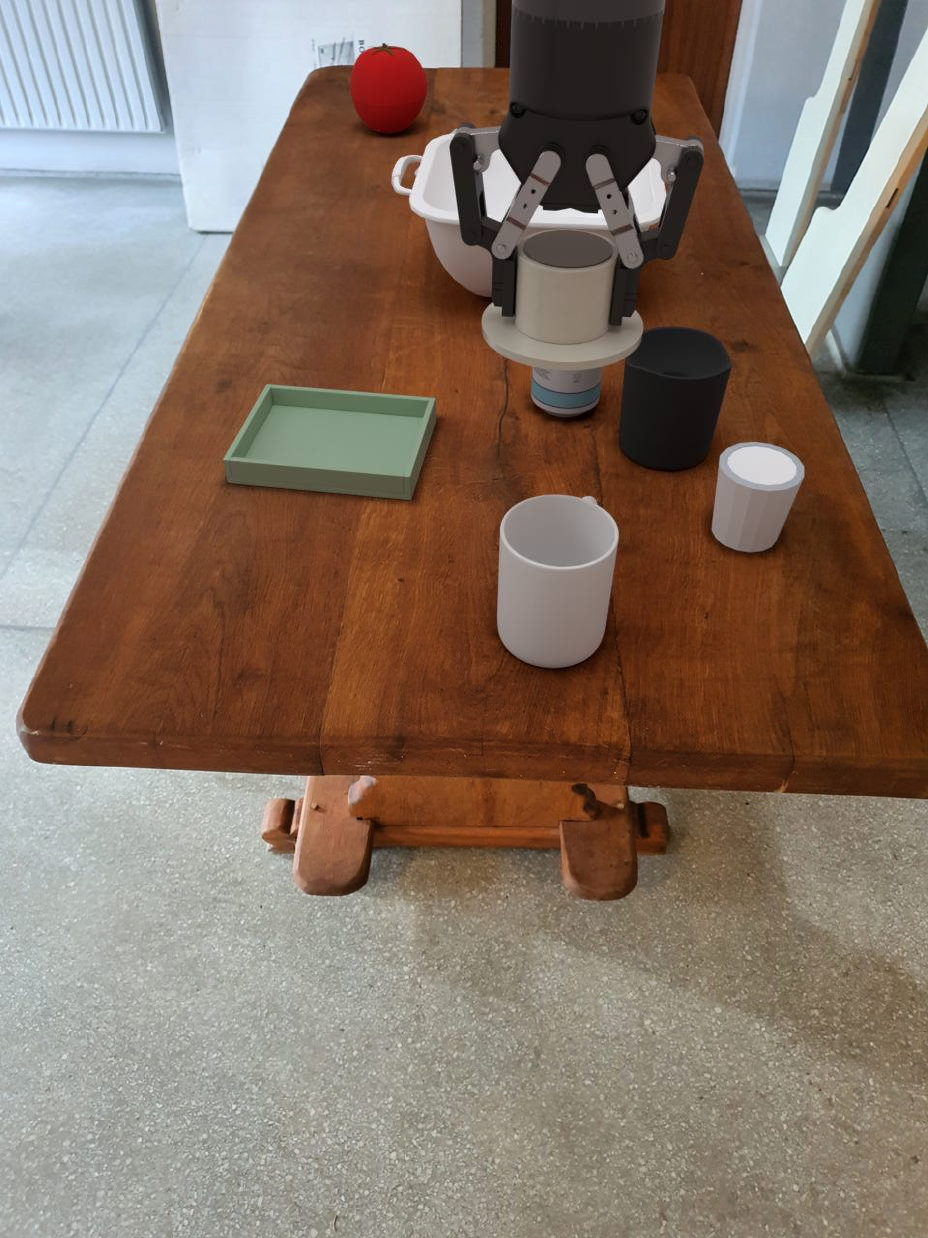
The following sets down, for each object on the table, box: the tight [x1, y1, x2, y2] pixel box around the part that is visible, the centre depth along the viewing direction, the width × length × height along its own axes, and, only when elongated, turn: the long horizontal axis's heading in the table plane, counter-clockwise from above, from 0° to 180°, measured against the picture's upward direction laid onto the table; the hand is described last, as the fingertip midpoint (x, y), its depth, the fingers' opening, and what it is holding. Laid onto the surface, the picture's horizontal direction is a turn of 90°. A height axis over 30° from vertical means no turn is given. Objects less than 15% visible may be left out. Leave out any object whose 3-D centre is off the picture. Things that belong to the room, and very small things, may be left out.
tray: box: [222, 383, 437, 501], centre depth 90 cm, size 17×13×3 cm
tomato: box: [349, 42, 428, 135], centre depth 152 cm, size 12×12×13 cm
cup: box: [496, 494, 620, 669], centre depth 71 cm, size 8×12×10 cm
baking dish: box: [391, 133, 667, 298], centre depth 113 cm, size 34×28×13 cm
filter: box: [481, 229, 644, 371], centre depth 57 cm, size 10×10×5 cm
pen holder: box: [618, 325, 733, 471], centre depth 88 cm, size 9×9×10 cm
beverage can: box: [530, 366, 604, 418], centre depth 92 cm, size 7×7×12 cm
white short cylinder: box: [711, 441, 805, 553], centre depth 79 cm, size 7×7×7 cm
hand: (562, 314), depth 58 cm, fingers closed on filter, 6 cm apart
